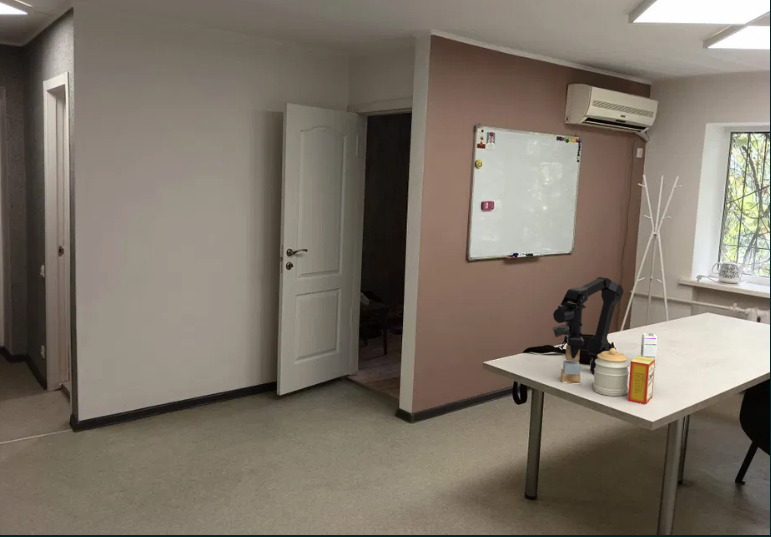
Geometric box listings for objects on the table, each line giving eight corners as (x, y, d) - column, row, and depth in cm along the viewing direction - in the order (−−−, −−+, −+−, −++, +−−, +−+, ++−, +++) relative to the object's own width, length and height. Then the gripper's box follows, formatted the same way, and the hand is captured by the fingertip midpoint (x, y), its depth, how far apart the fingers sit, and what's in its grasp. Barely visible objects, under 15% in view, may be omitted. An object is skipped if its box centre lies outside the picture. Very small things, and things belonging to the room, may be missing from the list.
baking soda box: (645, 404, 238) (648, 363, 236) (627, 400, 242) (630, 360, 239) (652, 397, 246) (655, 357, 243) (634, 394, 249) (637, 354, 247)
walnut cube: (565, 356, 266) (566, 345, 265) (577, 357, 265) (578, 345, 264) (566, 360, 261) (567, 348, 261) (579, 360, 260) (579, 349, 260)
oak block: (577, 379, 268) (578, 370, 267) (579, 384, 261) (580, 375, 260) (560, 378, 269) (561, 369, 268) (562, 383, 262) (562, 374, 261)
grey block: (577, 370, 266) (578, 361, 266) (579, 374, 261) (580, 365, 260) (563, 369, 267) (563, 360, 267) (564, 373, 262) (565, 364, 261)
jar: (600, 383, 261) (602, 342, 259) (632, 390, 253) (635, 347, 251) (587, 391, 252) (590, 348, 249) (620, 399, 243) (623, 354, 241)
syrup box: (655, 368, 283) (658, 336, 281) (641, 367, 284) (644, 335, 282) (653, 364, 288) (655, 333, 286) (639, 363, 290) (641, 332, 287)
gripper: (552, 313, 271) (551, 349, 274) (556, 323, 253) (554, 361, 256) (579, 315, 269) (577, 350, 272) (585, 325, 251) (582, 363, 253)
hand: (572, 356), depth 263 cm, fingers closed on walnut cube, 5 cm apart
